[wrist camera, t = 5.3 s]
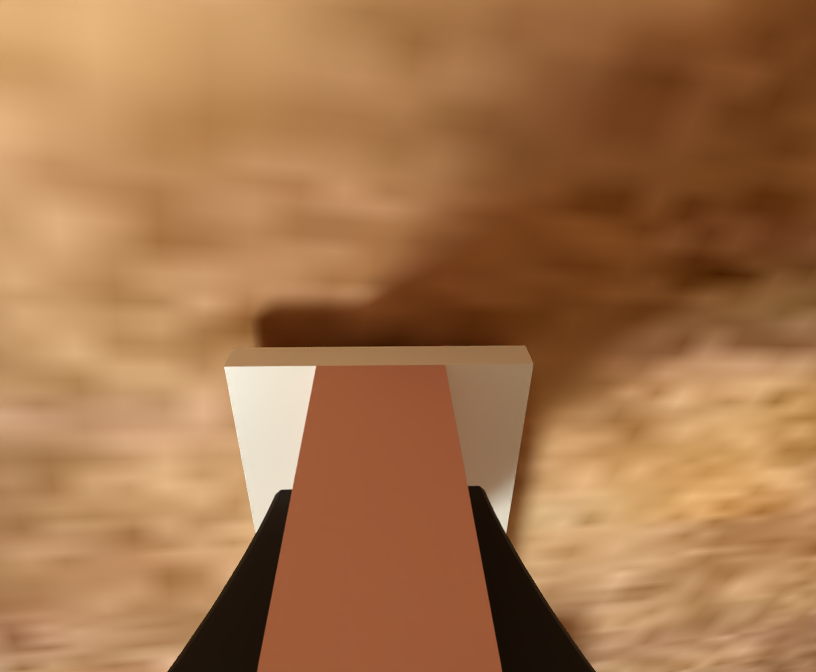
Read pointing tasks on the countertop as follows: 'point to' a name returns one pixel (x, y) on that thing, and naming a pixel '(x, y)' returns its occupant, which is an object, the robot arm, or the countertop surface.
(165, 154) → the countertop surface
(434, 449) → the pink and white block
